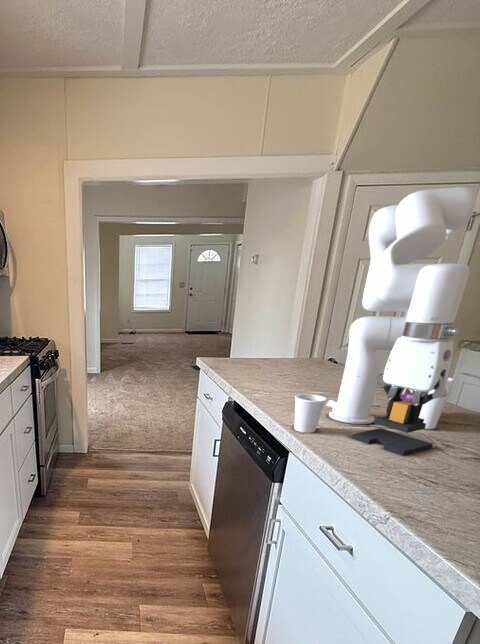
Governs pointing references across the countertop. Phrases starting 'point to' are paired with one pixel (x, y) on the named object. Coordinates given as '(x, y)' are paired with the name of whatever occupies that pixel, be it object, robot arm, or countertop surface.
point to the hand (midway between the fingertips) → (400, 418)
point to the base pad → (393, 441)
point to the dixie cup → (308, 412)
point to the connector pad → (401, 426)
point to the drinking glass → (435, 407)
